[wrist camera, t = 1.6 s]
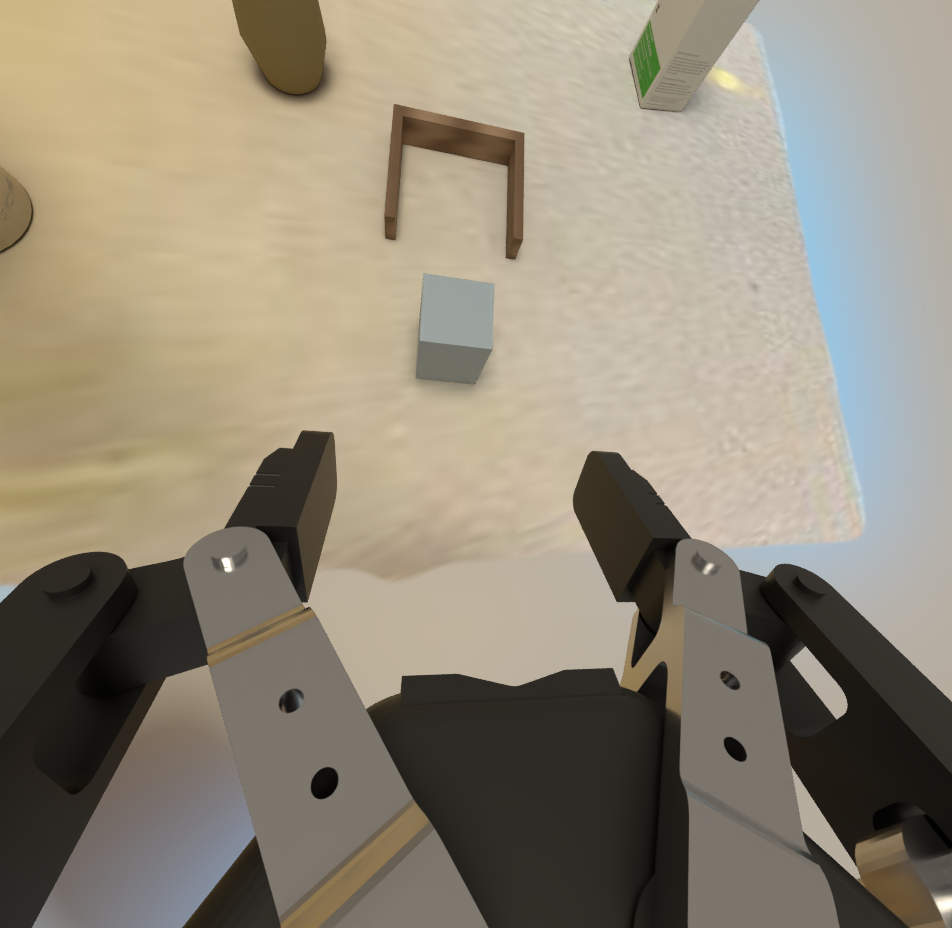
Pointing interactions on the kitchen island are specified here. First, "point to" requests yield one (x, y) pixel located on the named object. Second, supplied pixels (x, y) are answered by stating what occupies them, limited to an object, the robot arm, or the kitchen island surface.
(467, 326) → the slate block
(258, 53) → the squeeze bottle
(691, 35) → the skincare box
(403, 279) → the kitchen island surface
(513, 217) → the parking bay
